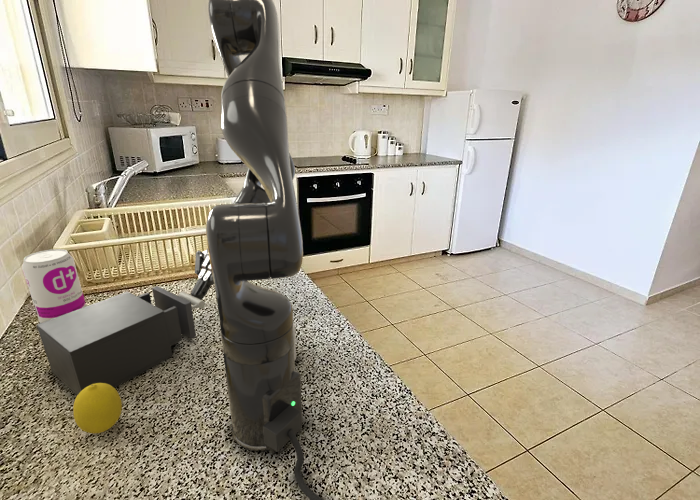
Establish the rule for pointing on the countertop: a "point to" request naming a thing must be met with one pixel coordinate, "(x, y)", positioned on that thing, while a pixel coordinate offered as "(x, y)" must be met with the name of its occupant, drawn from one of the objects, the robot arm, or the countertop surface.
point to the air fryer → (106, 341)
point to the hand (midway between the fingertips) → (195, 297)
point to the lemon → (97, 408)
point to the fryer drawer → (176, 312)
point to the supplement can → (53, 283)
